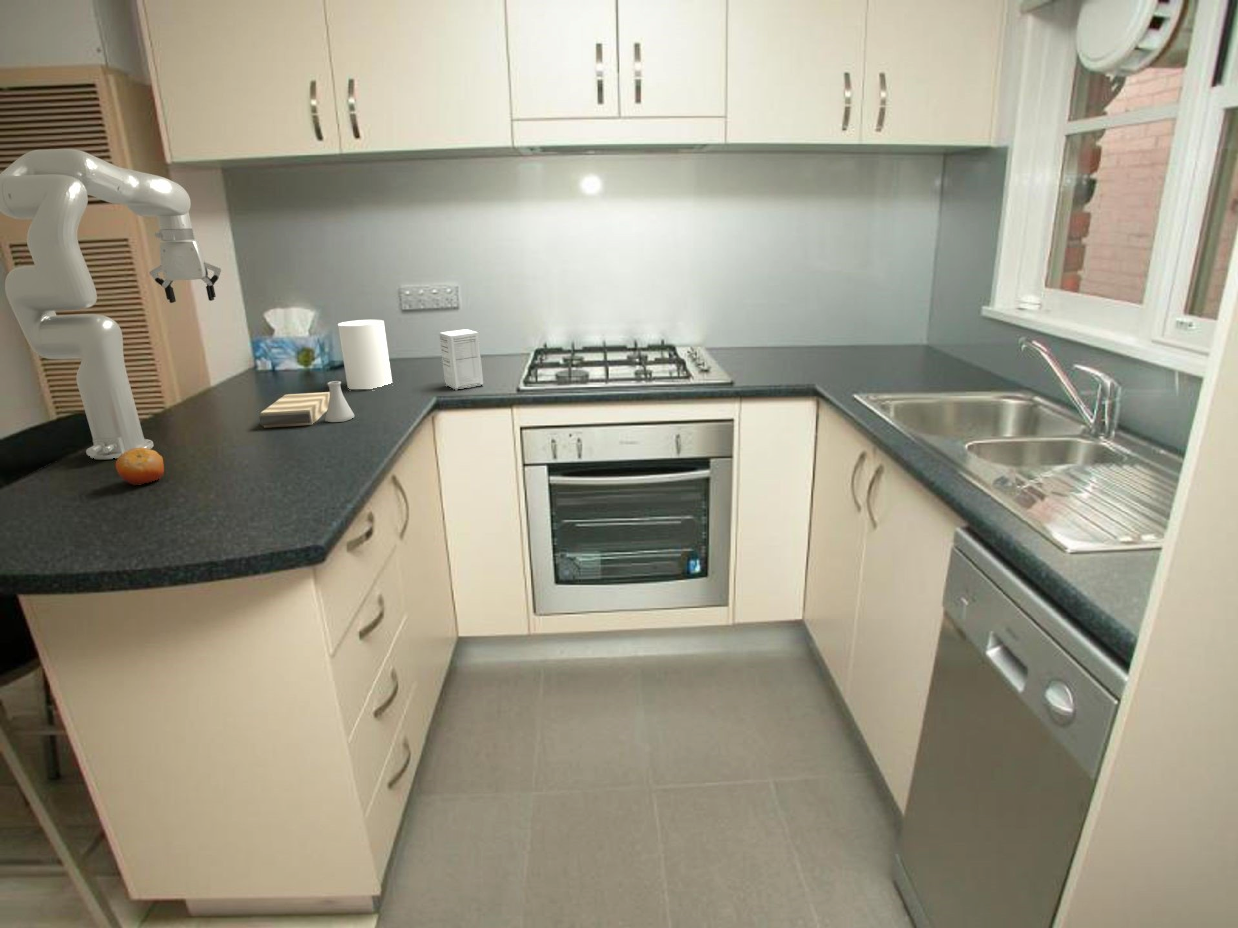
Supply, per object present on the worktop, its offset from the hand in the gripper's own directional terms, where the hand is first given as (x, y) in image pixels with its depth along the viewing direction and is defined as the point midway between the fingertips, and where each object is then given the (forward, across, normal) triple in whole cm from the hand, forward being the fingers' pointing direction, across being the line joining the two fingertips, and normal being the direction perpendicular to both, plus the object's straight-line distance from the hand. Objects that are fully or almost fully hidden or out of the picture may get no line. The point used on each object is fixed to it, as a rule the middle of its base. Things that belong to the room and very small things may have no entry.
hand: (192, 301), depth 196 cm
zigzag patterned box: (+30, +25, -22) cm, 45 cm away
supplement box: (+30, +71, -3) cm, 77 cm away
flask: (+30, +36, -30) cm, 56 cm away
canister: (+30, +42, +9) cm, 53 cm away
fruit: (+30, +1, -67) cm, 74 cm away
